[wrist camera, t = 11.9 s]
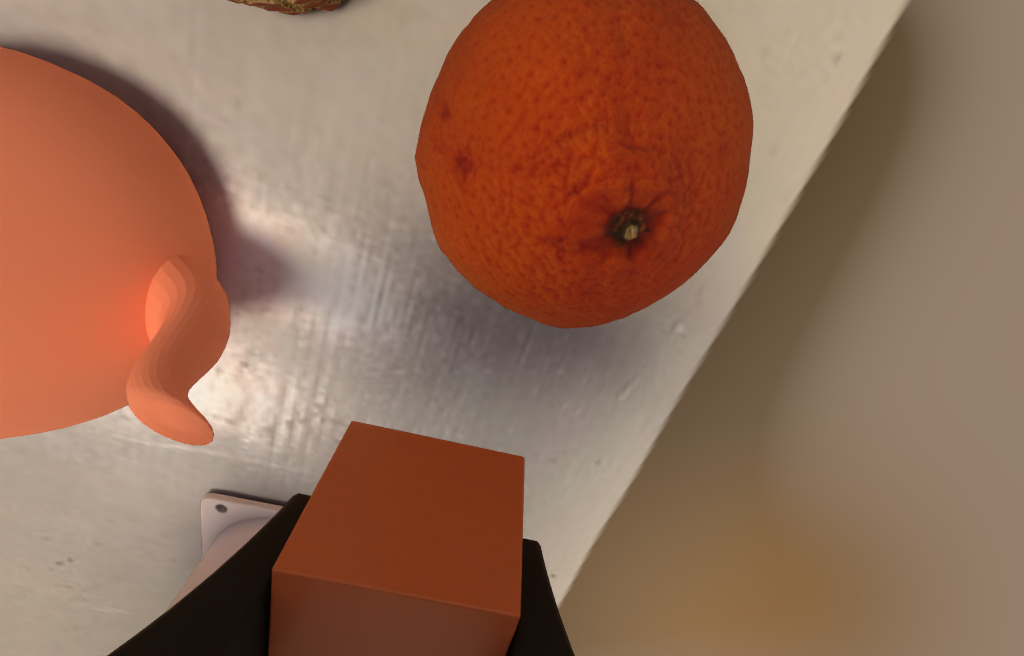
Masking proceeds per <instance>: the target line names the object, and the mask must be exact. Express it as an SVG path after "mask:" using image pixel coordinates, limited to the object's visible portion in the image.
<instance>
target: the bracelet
mask: <svg viewBox="0 0 1024 656" xmlns="http://www.w3.org/2000/svg"><path fill="white" fill-rule="evenodd" d="M229 1H232V2H235V3H243V4H246V5H249V6H256V7H259V8H263V9H265V10H268V11H279V12H281V13H285V14H290V15H297V14H302V13H307V12H310V11H311V10H312V8H313V7H314V8H316V9H318V10H327V11H332V10H333V9H335V8H336V7H337V6H339V5H340V3H341V2H342V0H229Z"/></svg>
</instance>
